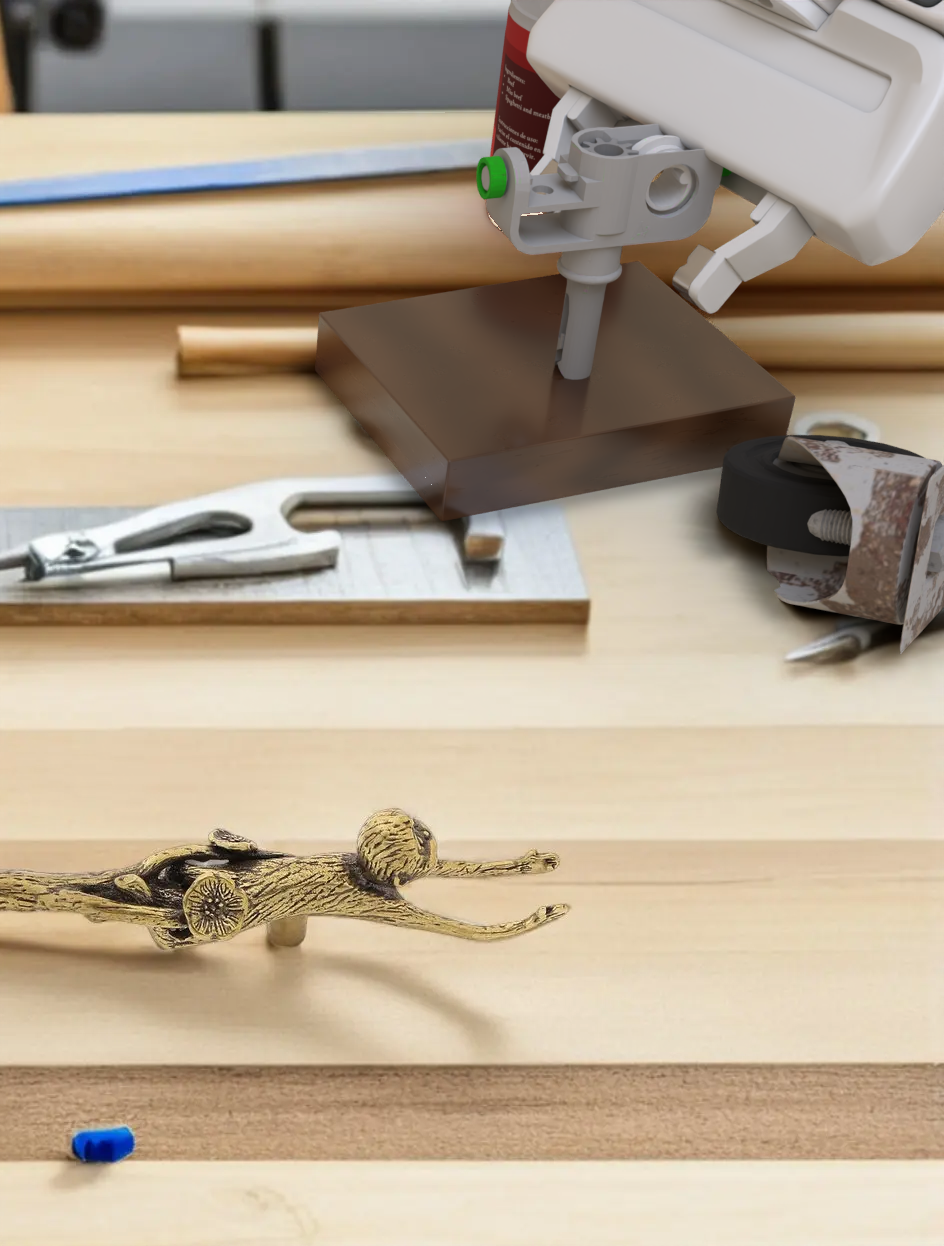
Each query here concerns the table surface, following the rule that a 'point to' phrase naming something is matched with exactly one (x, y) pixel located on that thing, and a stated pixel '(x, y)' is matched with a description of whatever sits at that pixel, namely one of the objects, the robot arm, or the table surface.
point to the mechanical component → (598, 214)
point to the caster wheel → (842, 524)
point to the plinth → (543, 391)
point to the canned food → (522, 88)
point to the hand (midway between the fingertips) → (610, 251)
